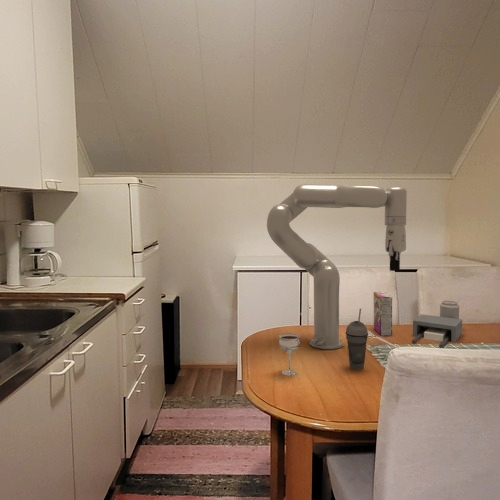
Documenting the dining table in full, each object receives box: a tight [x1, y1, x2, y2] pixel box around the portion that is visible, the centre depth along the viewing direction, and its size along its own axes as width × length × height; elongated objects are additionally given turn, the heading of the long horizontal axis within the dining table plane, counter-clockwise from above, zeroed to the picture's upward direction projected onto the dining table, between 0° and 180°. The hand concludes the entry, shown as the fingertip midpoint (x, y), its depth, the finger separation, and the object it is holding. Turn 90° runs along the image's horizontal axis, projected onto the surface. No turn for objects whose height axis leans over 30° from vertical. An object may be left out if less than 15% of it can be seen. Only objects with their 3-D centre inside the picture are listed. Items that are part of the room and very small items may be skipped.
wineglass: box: [278, 332, 301, 377], centre depth 134 cm, size 7×7×12 cm
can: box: [439, 300, 460, 319], centre depth 179 cm, size 8×8×12 cm
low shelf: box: [411, 313, 463, 348], centre depth 167 cm, size 22×16×6 cm
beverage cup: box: [345, 308, 369, 371], centre depth 137 cm, size 7×7×20 cm
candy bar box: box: [373, 291, 393, 337], centre depth 176 cm, size 11×5×16 cm, turn 179°
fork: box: [368, 330, 398, 349], centre depth 165 cm, size 3×20×2 cm, turn 21°
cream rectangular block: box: [423, 327, 448, 343], centre depth 169 cm, size 10×7×3 cm
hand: (394, 270), depth 156 cm, fingers closed
